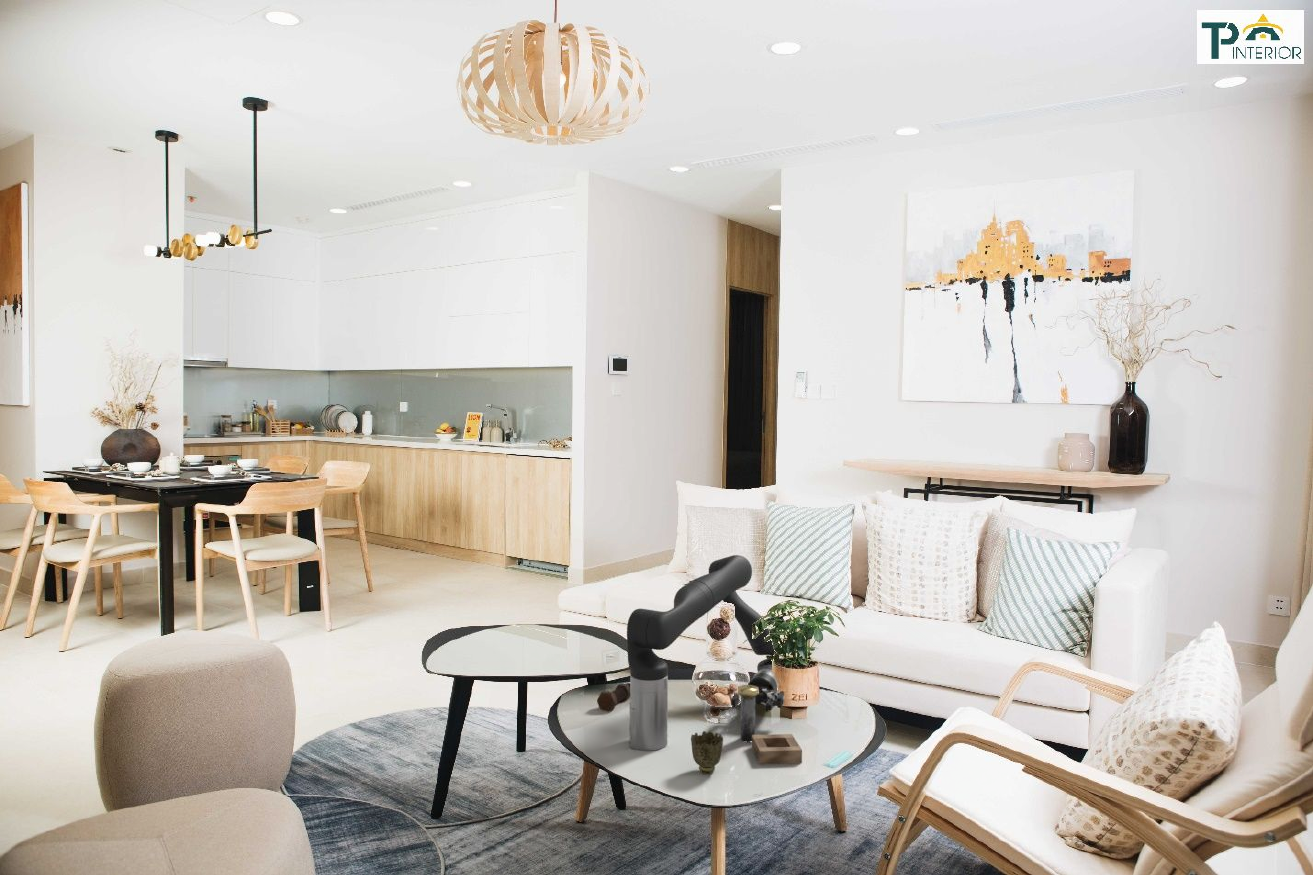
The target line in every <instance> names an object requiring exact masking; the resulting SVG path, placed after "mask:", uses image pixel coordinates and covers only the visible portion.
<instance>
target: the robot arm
mask: <svg viewBox="0 0 1313 875" xmlns="http://www.w3.org/2000/svg"><path fill="white" fill-rule="evenodd" d="M752 568H753V567H752V564H751V562H750V561H749V559H747V557H744V556H742V555H739V554H733V555H730V556H727V557H723V558H720V559H717V560H714V561H712V562H711V563H710V564H709V567H708V573H707V574H704V575H702V576H699V577H697V578H695V579H692V580H690V581H689V582H687V583H686V584H684V585H683V586H682V587H680V588H679V589H678V590H677V592H676V593H675V595H674V599H673V608H671V609H670V610H666V611H660V610H659V611H658V610H653V609H648V608H637V609H634V610H633V611H632V612H631V613H630V615H629V617H628V621H627V625H626V646H627V664H628V667H629V671H630V672H629V673H630V676H629V677H630V679H629V680H630V697H629V699H630V702H629V728H628V729H629V734H628V735H629V746H630V749H635V750H636V749H637V750H641V751H657V750H661V749H664V748H666V747H667V745H668V709H669V708H668V702H669V700H668V698H669V697H668V696H669V692H668V691H669V689H668V684H669V683H668V681H669V674H668V673H669V667H668V663H667V662H666V661H665V660H664V659H662V658H660V656H658V655H657V654H656V653H655V652H654V651H653V650H656V651H662V650H665V649H667V648H668V647H670V646H671V645H673V643H674V642H675V641H676V640H677V639H678V638H679V637H680V636H681V635H682V634H683V633H684V632H685V631H686V630H687V629H688V628H689V627H690V626H692V625H693V624H694V623H695V622H697V621H698V620H699V619H701V618H702V617H703V616H705V615H706V614H707V613H709V612H711V611H712V610H713V609H714V608H715V607H716V606H717V605H719V604H720V603H721V602H722V601H723V602H727V603H732V604H734V606H735V617H734V618H735V619H736V622H738V624H739V626H740V627H741V629H742V631H743V633H744V635H745V637H746V639H747V641H748V643H749V646H750V647H751V649H752V652H753V653H754V654H755V655H757V656H771V657H772V656H773V655H774V649H773V645H772V642H771V641H768V642H764V637H766V636H767V635H768V634H769V630H768V629H765V630H764V632H763V633H762V634H760V635H759V636H758V637H757V638H756V639H752V624H753V623H754V622H756V621H757V620H759V619H760V618H763V616H761V614H759V612H757V611H756V610H755V609H754V608H752V607H751V606H749V605H748V604H747V603H746V602H745V601H744V600H743V599H742V598H741V597H740V595H739V594H738V593H737V590H740V589H742V588H744V587H745V586H747V585H748V584H749V583H750V581H751V579H752V575H753V569H752ZM771 657H769V658H766V659H763V660H761V661H759V662H758V663H757V666H756V668H757V669H756V671H757V672H756V673H754V675H753V677H752V678H751V679H750V681H748V683H747V685H753V686H757V687H758V688H759V694H758V695H756V696H755V705H757V706H758V705H759V706H765V712H768V713H769V712H770V711H772V710H773V709H775V708H776V707H777V708H778V709H782V708H783V705H784V703H785V691H782V690H780V691H779V689H778V682H777V679H776V676H775V674H774V672H773V674H772V661H771V659H770V658H771ZM740 696H741V695H739V694H738V693H734V696H733V698H732V699H731V702H730V705H731V706H732V708H735V709H736V708H737V707H738V705H739V704H741V701H740V700H739V699H740Z"/></svg>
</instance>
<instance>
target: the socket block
mask: <svg viewBox="0 0 1313 875" xmlns="http://www.w3.org/2000/svg"><path fill="white" fill-rule="evenodd" d="M751 749H752V751H753V753H754V752H755V753H754V755H755V756H756V759H757V761H758V763H759V764H760V765H770V764H774V765H775V764H776V765H777V764H802V763H803V749H802V748H801V746H800V744H799V743H798V741H797V740H796V738H795V736H794V735H793V733H780V734H778V733H777V734H755V735H752V742H751Z"/></svg>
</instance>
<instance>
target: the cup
mask: <svg viewBox="0 0 1313 875" xmlns="http://www.w3.org/2000/svg"><path fill="white" fill-rule="evenodd" d="M690 743H691V750H692V752H691V753H692V757H693V761H694V762H695V764H697V765H698V769H699V771H700V773H702V774H712V773H714V771H715V768H716V766H717V765H718V764H719V762H720V761H721V758H722V752H723V744H724V738H723V735H722V734H718V732H716V733H714V732H713V731H710V730H709V731H708V732H706V731H705V730H703V731H702V733H701V734H698V733H697V732H695V733H694V734H691V737H690Z"/></svg>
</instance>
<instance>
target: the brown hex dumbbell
mask: <svg viewBox="0 0 1313 875" xmlns="http://www.w3.org/2000/svg"><path fill="white" fill-rule="evenodd" d="M629 699H630V683H629V682H627V683H619V684H617V686H616V688H615V689H614V690H613V691H606V690H602V691H601V692H600V694H599V695H598V697H597V699H596V701H597V706H598V707H599V709H600V710H601V711H605V712H613V710H615V708H616V706H617V704H618V702H621V701H628V700H629Z"/></svg>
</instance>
